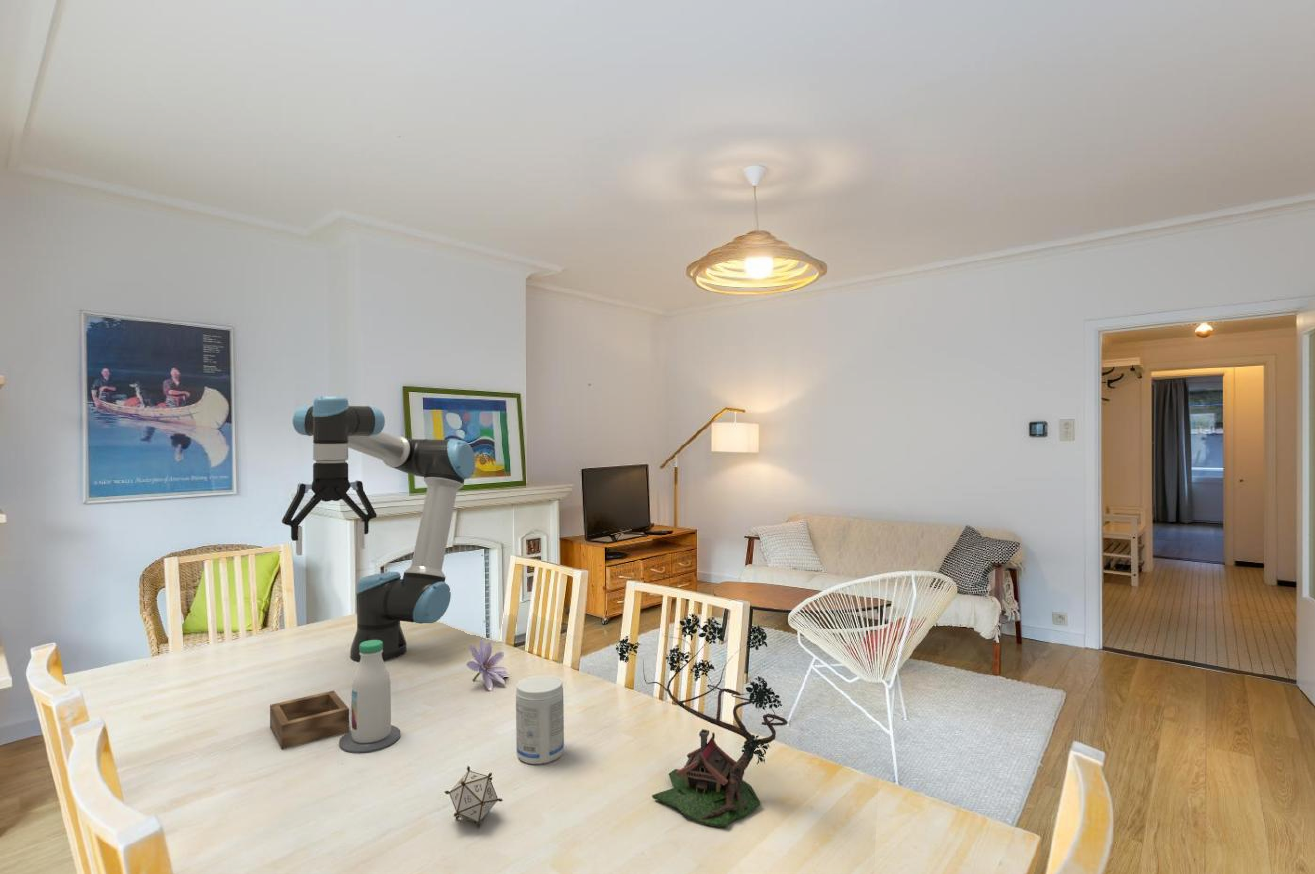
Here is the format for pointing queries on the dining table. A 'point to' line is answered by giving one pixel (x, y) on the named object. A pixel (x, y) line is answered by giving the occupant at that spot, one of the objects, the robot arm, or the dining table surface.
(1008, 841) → the dining table surface
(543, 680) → the supplement tub
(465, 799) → the game die
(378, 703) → the milk bottle
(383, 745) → the slate coaster
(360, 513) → the robot arm
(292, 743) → the walnut pocket
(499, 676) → the water lily
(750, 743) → the bonsai tree
